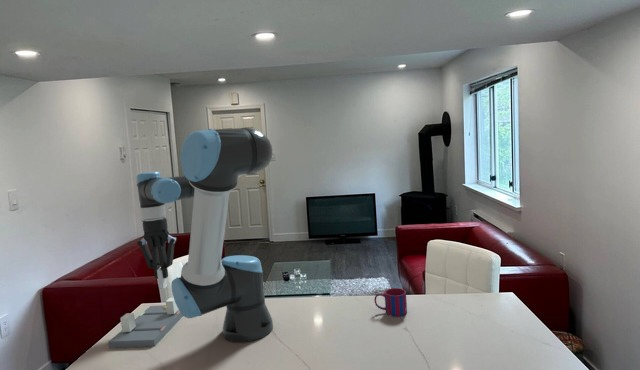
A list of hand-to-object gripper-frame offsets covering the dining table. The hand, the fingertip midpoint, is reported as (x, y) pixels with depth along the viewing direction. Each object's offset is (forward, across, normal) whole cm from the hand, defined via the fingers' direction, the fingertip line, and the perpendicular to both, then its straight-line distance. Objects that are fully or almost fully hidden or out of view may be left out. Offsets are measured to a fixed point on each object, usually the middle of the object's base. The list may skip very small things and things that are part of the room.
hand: (163, 287), depth 142 cm
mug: (+12, -75, +2) cm, 76 cm away
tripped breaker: (+9, -2, 0) cm, 9 cm away
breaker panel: (+11, +2, +6) cm, 13 cm away
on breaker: (+9, +7, +12) cm, 16 cm away
